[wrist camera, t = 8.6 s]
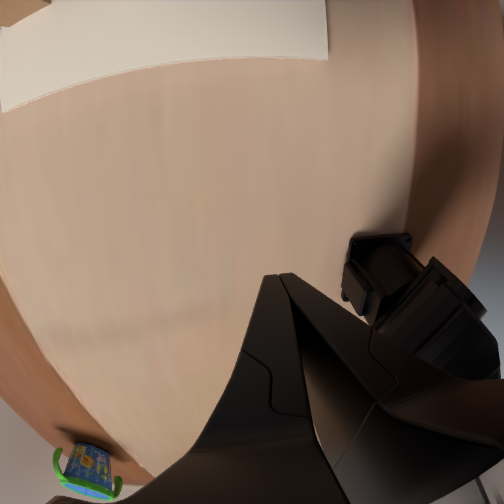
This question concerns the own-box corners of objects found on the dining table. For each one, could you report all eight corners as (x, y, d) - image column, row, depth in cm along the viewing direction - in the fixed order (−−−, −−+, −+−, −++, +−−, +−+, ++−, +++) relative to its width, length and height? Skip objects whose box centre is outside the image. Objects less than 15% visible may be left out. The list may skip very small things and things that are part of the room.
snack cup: (48, 432, 37) (39, 475, 28) (79, 430, 36) (71, 480, 27) (102, 463, 45) (98, 501, 36) (136, 462, 44) (134, 505, 35)
